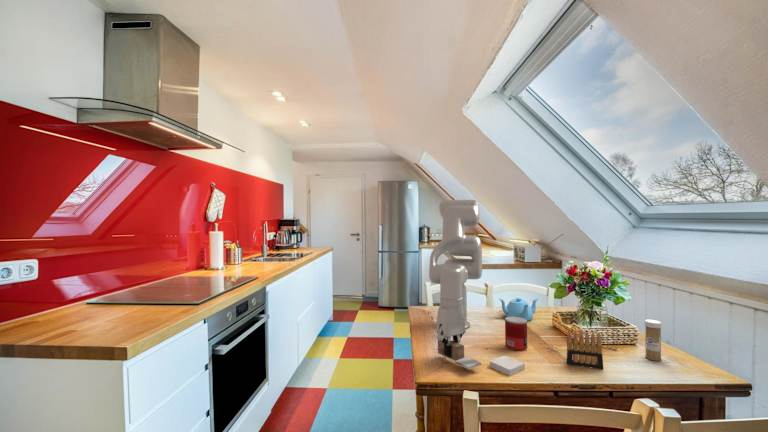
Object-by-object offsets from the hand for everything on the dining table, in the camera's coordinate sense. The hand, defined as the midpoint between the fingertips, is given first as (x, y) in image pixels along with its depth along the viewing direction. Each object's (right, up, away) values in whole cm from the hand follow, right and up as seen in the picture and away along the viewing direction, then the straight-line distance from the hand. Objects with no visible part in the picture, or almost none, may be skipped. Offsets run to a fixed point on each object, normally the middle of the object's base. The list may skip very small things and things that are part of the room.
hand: (451, 354), depth 118 cm
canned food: (+28, -3, +12) cm, 31 cm away
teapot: (+44, -3, +48) cm, 65 cm away
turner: (+1, -1, -2) cm, 3 cm away
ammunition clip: (+45, -3, -4) cm, 45 cm away
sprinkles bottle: (+72, -2, +1) cm, 72 cm away
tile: (+16, -2, -2) cm, 16 cm away
